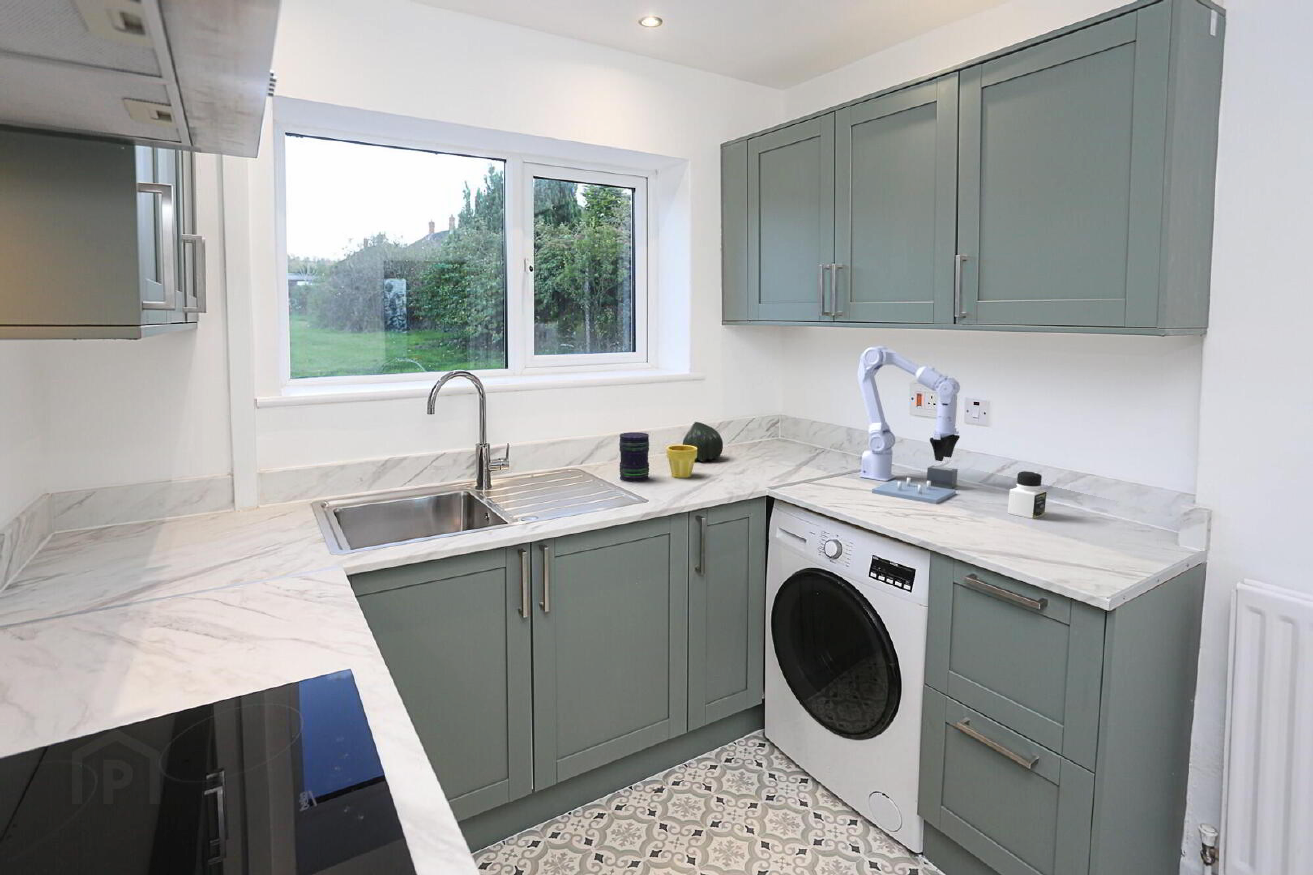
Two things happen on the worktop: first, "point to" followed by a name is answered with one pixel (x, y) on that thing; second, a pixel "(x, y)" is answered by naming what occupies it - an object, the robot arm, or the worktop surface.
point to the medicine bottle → (1027, 496)
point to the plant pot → (681, 460)
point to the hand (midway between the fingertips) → (943, 458)
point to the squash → (704, 441)
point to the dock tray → (914, 491)
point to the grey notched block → (942, 477)
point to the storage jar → (634, 457)
